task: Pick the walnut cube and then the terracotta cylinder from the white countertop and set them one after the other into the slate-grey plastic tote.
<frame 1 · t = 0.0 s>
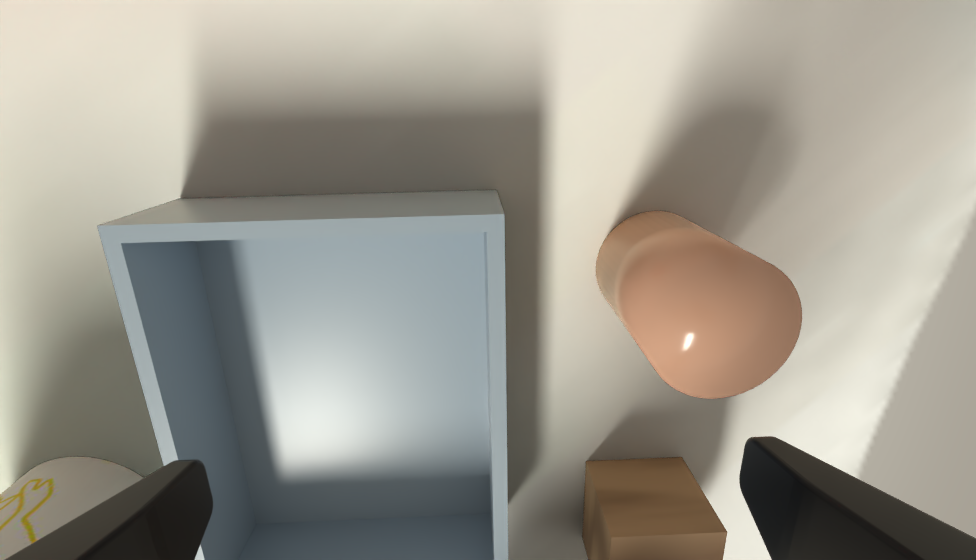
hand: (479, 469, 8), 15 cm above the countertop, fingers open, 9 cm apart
cylinder: (650, 265, 23), on the countertop
cube: (630, 496, 27), on the countertop
tote: (360, 375, 24), on the countertop
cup: (97, 518, 27), on the countertop
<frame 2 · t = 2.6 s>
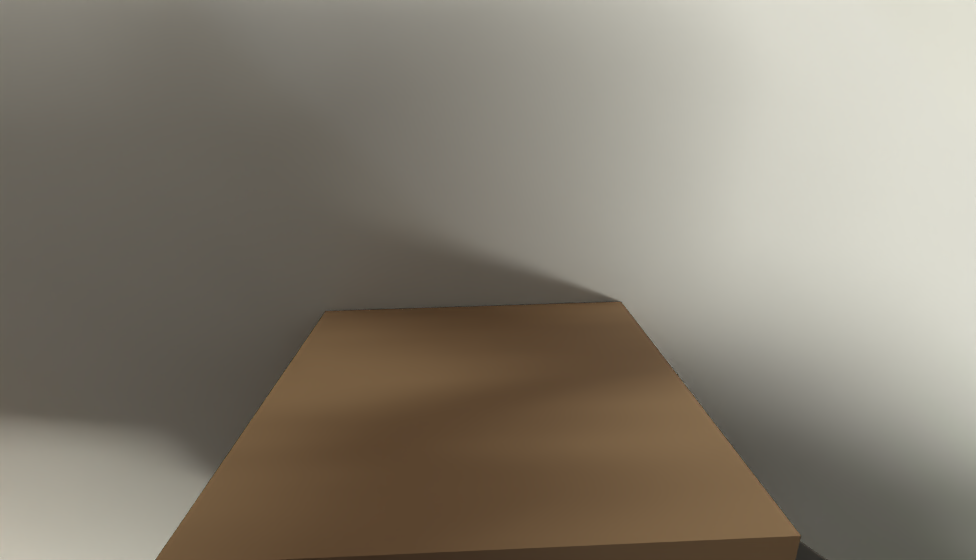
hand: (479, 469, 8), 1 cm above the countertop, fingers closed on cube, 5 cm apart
cube: (478, 431, 9), on the countertop, touching gripper
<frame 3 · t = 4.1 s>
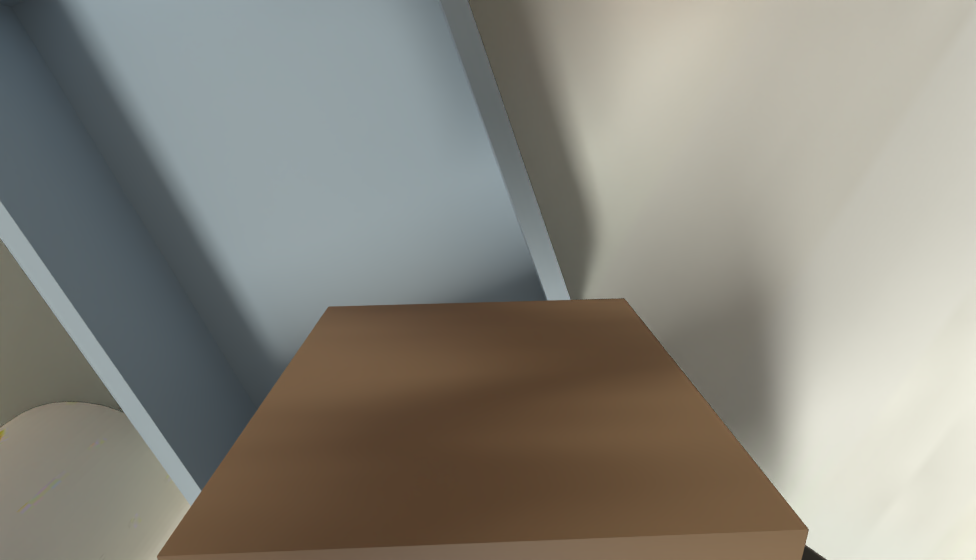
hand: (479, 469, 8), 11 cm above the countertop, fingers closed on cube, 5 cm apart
cube: (480, 428, 9), point 10 cm above the countertop, touching gripper
tote: (320, 184, 18), on the countertop
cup: (96, 482, 22), on the countertop
when the fingers open (4 cm above the countertop, at t = 6.0 s): cube drops 2 cm, resting on tote.
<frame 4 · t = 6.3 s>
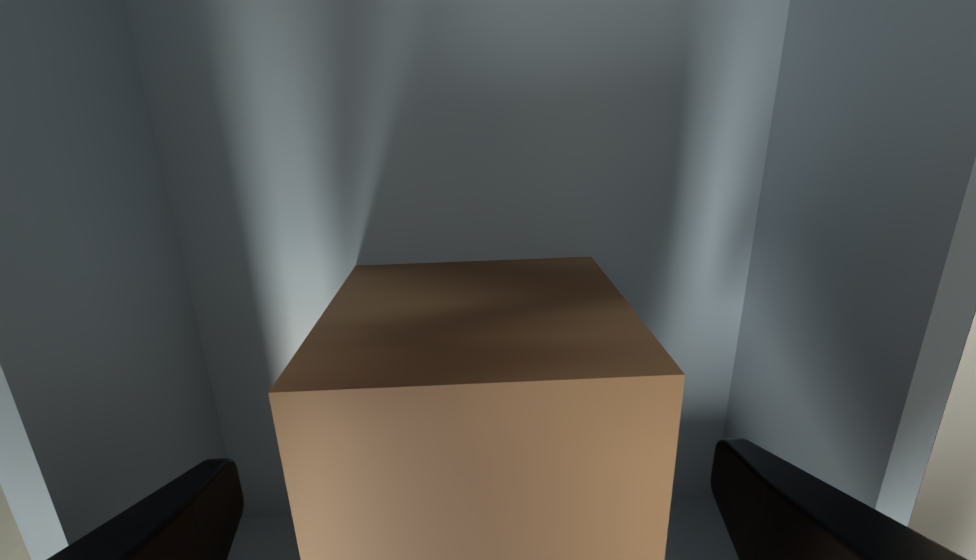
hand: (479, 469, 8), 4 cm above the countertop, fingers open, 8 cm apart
cube: (478, 365, 12), point 1 cm above the countertop, touching tote
tote: (470, 187, 11), on the countertop
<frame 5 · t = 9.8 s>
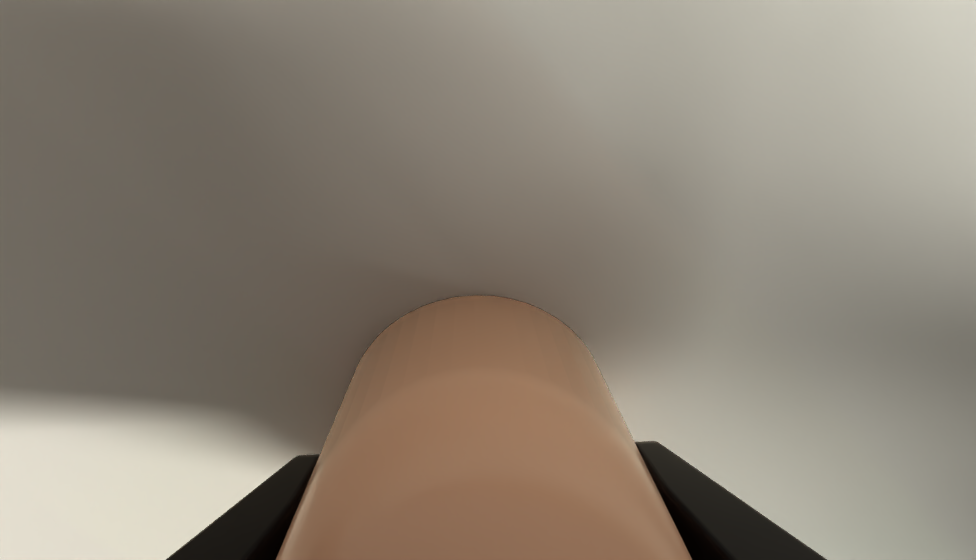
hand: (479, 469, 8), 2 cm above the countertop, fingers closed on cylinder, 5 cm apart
cylinder: (477, 415, 10), on the countertop, touching gripper
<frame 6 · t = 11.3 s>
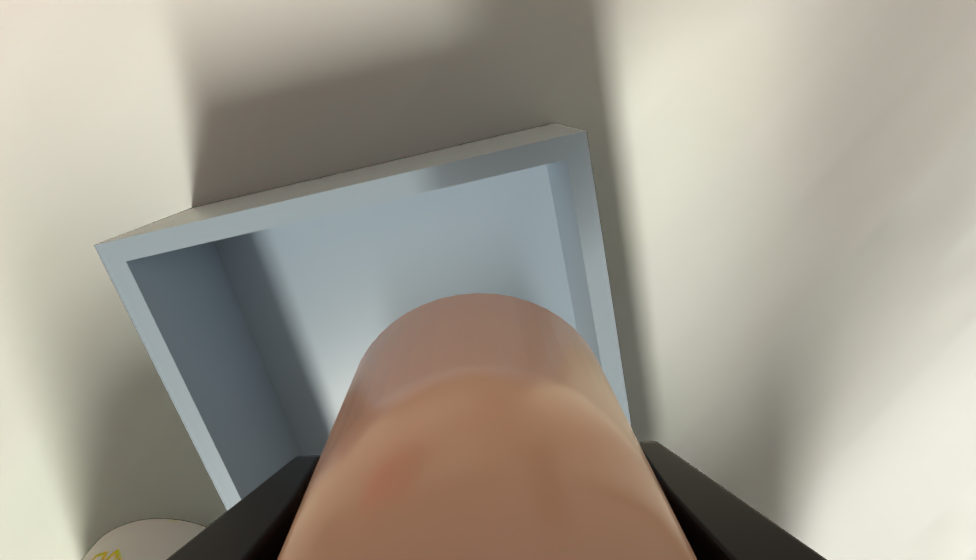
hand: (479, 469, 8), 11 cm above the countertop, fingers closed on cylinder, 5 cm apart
cylinder: (479, 413, 10), point 10 cm above the countertop, touching gripper
tote: (432, 376, 21), on the countertop
when the fingers open (4 cm above the countertop, at t = 13.3 s): cylinder drops 2 cm, resting on tote.
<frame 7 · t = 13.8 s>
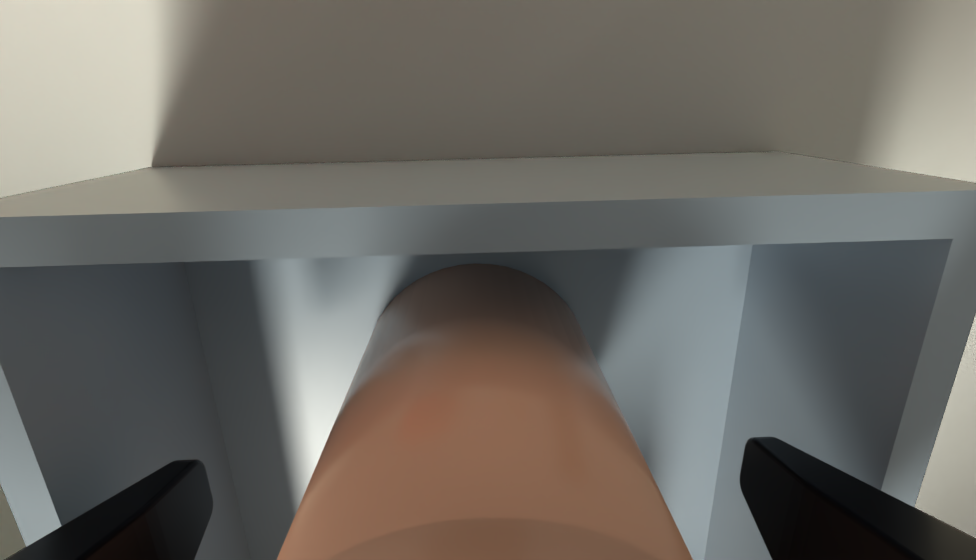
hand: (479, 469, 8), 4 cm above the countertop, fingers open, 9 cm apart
cylinder: (477, 367, 12), point 1 cm above the countertop, touching tote
tote: (480, 490, 14), on the countertop
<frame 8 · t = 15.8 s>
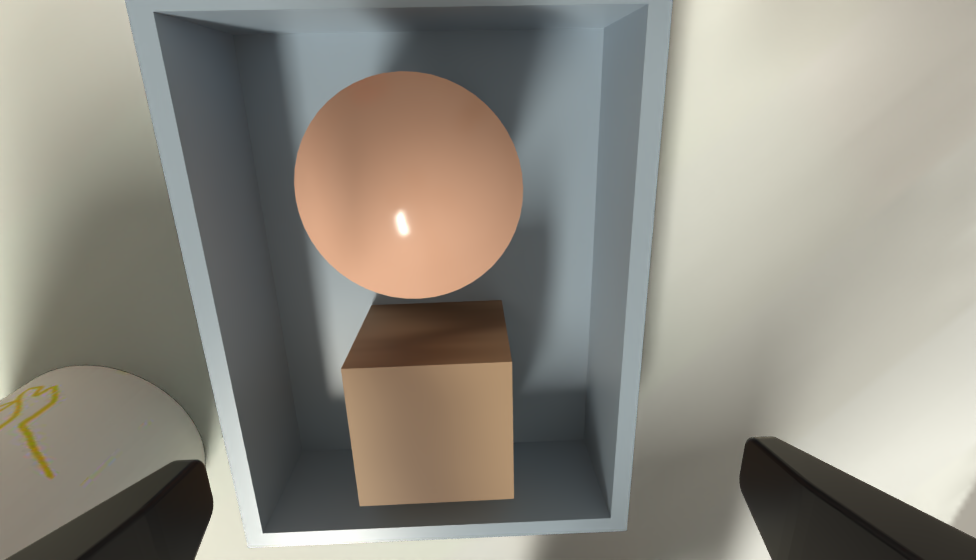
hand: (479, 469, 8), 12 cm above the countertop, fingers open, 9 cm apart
cylinder: (428, 157, 18), point 1 cm above the countertop, touching tote
cube: (440, 360, 21), point 1 cm above the countertop, touching tote
tote: (434, 261, 20), on the countertop
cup: (110, 446, 22), on the countertop
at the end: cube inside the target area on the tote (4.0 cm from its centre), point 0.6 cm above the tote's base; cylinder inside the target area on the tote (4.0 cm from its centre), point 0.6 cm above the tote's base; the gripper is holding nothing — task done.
